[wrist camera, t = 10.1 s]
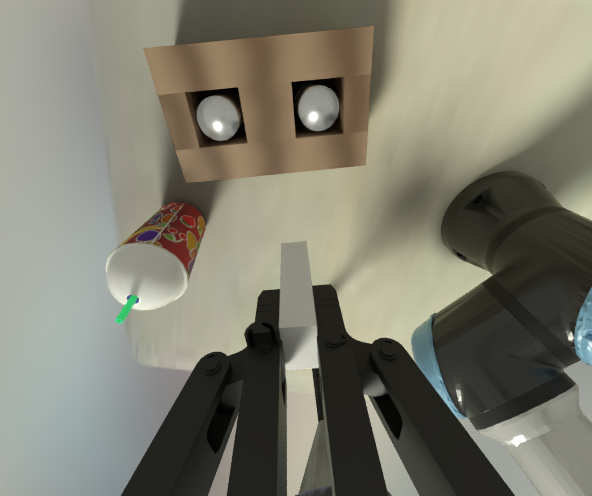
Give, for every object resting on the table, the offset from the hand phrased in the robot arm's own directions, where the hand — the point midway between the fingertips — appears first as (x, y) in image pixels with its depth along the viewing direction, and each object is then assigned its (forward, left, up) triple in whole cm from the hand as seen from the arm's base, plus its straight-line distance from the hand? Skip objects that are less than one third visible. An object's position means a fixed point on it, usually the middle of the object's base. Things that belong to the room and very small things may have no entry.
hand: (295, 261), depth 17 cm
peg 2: (-4, -7, -24) cm, 25 cm away
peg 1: (+6, -7, -24) cm, 26 cm away
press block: (+1, -7, -24) cm, 25 cm away
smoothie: (+16, +7, -24) cm, 30 cm away
